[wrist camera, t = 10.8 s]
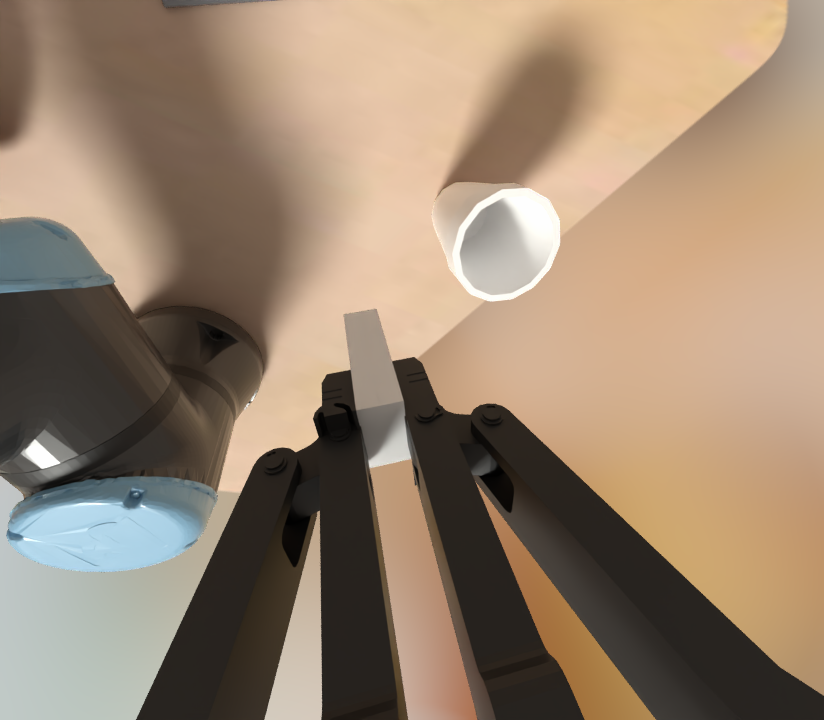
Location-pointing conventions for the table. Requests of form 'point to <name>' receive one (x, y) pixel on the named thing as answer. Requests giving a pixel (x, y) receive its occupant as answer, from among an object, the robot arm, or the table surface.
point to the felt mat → (202, 2)
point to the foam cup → (496, 237)
